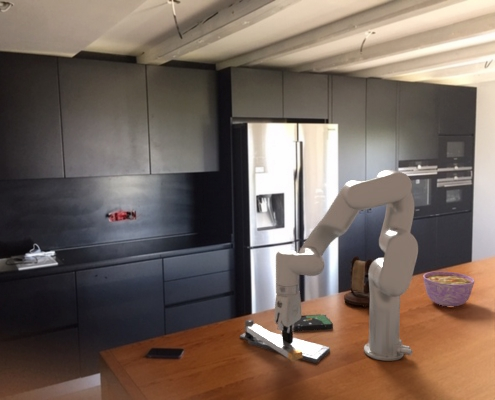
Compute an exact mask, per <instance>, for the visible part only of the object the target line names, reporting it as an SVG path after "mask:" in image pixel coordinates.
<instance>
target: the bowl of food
mask: <svg viewBox="0 0 495 400" xmlns="http://www.w3.org/2000/svg"><path fill="white" fill-rule="evenodd" d="M422 276H423V283H424V287H425V288H424V289H425V291H426V294H427V297H428V298H429V299H430V300H431V301H432V302H433V303H435V304H436V305H438V304H439V305H438V306H440V305H442V306H441V307H443V306H457V307H458V306H459V307H460V306H462V305H464V304H466V303H467V301H469V299H470V296H471V294H472V290H473V287H474V284H475V279H474V277H471V276H469V275H466V274H464V273H459V272H454V271H453V272H452V271H430V272H426V273H424V274H423V275H422Z"/></svg>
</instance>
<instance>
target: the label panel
mask: <svg viewBox="0 0 495 400" xmlns="http://www.w3.org/2000/svg"><path fill="white" fill-rule="evenodd" d="M270 332H271V333H272V334H274V335H276V336H277V337H279V338H281V339H282V334H279V333H277V332H276V333H275V332H272V331H270ZM239 338H240V339H241V340H242V339H243V340H245V341H247V343H248V345H251V346H254V347H258V348H261V349H264V350H267V351H271V352H275V353H278V354H280V353H279V352H278V351H276V350H274V349H273V348H271V347H270V346H268V345H267V344H265V343H264V342H262V341H260V340H259V339H257V338H256V337H254V336H253V335H251V336H248V335H245V332H244V333H242V334H240V335H239ZM291 345H293V346H294V347H296V348H298V349H300V350H301V351H303V358H300V359H299V360H303V361H307V362H310V363H313V364H317V363H319V362H320V361H321V360H322V359H324V357H326V356H327V355H328V354H329V353H330V352H331V347H329V346H326V345H322V344H319V343H314V342H310V341H307V340H303V339H299V338H296V337H293V342H292V343H291Z"/></svg>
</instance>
